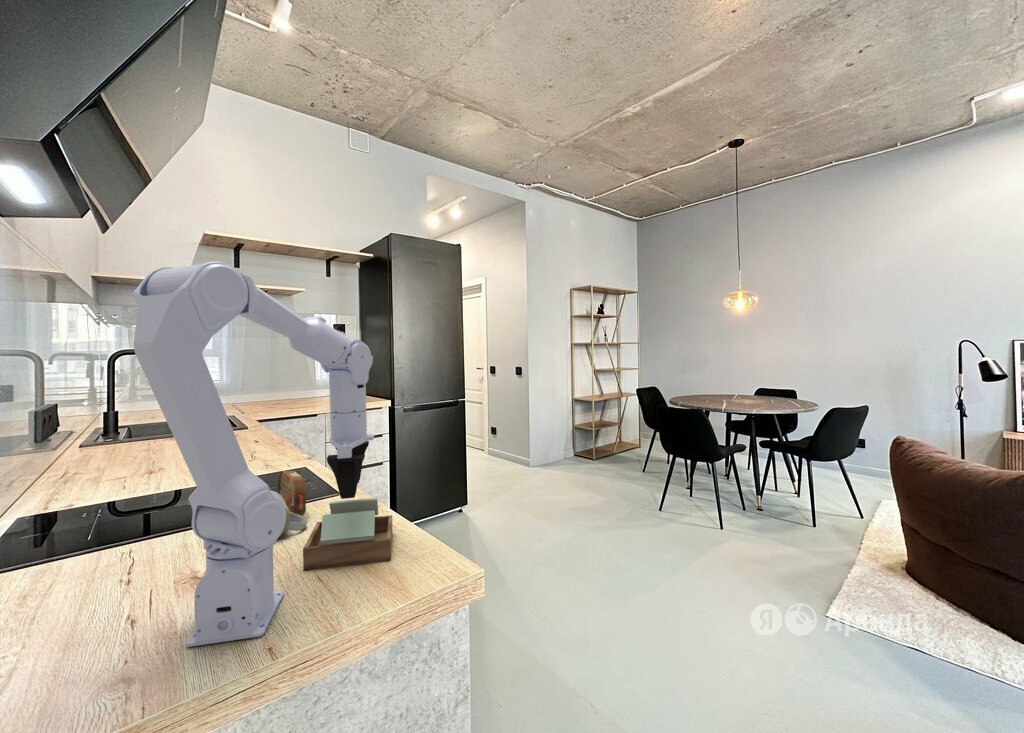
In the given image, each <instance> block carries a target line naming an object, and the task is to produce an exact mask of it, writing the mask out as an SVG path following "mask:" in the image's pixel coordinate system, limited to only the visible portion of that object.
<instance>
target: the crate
mask: <svg viewBox="0 0 1024 733" xmlns="http://www.w3.org/2000/svg"><path fill="white" fill-rule="evenodd" d="M321 528H322V521H317V522H316V523H315V525H314V528H313V529H312V532H311V533H310V535H309V536H308V539H307V540H306V543H305V545H304V546H303V548H302V559H303V563H302V564H303V566H302V569H303V572H305V571H314V570H320V569H322V570H323V569H328V568H329V569H330V568H331V569H332V568H339V567H347V566H355V565H356V566H357V565H364V564H372V563H373V564H374V563H381V562H391V558H392V548H391V547H392V545H393V515H381V516H375V527H374V540H365V541H355V542H346V543H336V544H326V545H320V542H321V541H320V539H321Z"/></svg>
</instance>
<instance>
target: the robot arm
mask: <svg viewBox="0 0 1024 733" xmlns="http://www.w3.org/2000/svg"><path fill="white" fill-rule="evenodd" d="M132 295H133V298H134V300H135V302H136V305H137V306H138V308H137V315H136V322H135V331H134V337H133V338H134V340H133V350H134V354H135V356H136V358H137V360H138V363H139V365H140V367H141V369H142V371H143V374H144V375H145V378H146V380H147V382H148V385H149V387H150V388H151V390H152V394H153V395H154V397H155V399H156V402H157V404H158V405H159V408H160V410H161V413H162V414H163V417H164V419H165V422H166V423H167V425H168V427H169V430H170V432H171V434H172V436H173V438H174V441H175V442H176V444H177V447H178V450H179V451H180V453H181V455H182V457H183V460H184V462H185V465H186V466H187V469H188V470H189V472H190V475H191V476H192V479H193V481H194V484H195V485H196V488H195V490H193V492H192V493H191V494H190V495H189V497H188V502H189V504H190V506H191V511H192V516H191V527H192V528H191V529H192V531H193V533H194V534H195V536H196V537H198V538H199V539H201V540H203V549H204V550H205V567H206V568H205V570H204V572H203V573H204V574H203V575H202V578H200V580H199V581H198V584H197V585H196V588H195V590H194V628H195V629H194V632H193V633H192V634H191V635H190V637H189V638H188V639H187V640H186V642H185V646H186V647H196V646H197V647H198V646H203V645H211V644H217V643H222V642H223V643H224V642H231V641H237V640H238V641H239V640H245V639H250V638H251V639H253V638H259V637H261V636H263V635H264V634H265V633H266V631H267V628H268V626H269V625H270V622H271V621H272V619H273V617H274V615H275V613H276V611H277V609H278V606H279V604H280V603H281V600H282V599H283V597H284V595H285V592H284V590H277V591H274V590H275V589H274V587H275V586H274V584H275V582H274V546H275V545H276V544H277V540H278V539H279V536H280V534H281V533H282V531H283V528H284V526H285V522H286V509H285V506H284V504H283V503H282V502H281V501H280V500H279V499H277V498H275V497H274V496H273V494H272V493H271V491H272V490H271V489H270V486H269V485H268V484H267V483H266V482H265V481H264V480H263V479H261V478H260V477H259V476H257V475H256V474H255V473H253V472H252V471H251V470H250V468H249V466H248V464H247V461H246V459H245V457H244V454H243V451H242V449H241V446H240V444H239V442H238V439H237V437H236V434H235V432H234V429H233V427H232V424H231V422H230V420H229V417H228V414H227V412H226V410H225V407H224V404H223V402H222V399H221V398H220V395H219V392H218V390H217V388H216V385H215V382H214V379H213V377H212V375H211V372H210V370H209V368H208V365H207V363H206V359H205V358H204V355H203V352H204V350H205V349H206V347H207V346H208V343H209V342H210V341H211V340H212V338H213V337H214V336H215V335H216V334H217V333H218V332H220V331H221V330H222V329H224V328H225V326H227V325H228V324H229V323H230V322H232V321H233V320H234V319H235V318H237V317H238V316H239V317H242V318H245V319H247V320H249V321H251V322H253V323H256V324H258V325H260V326H262V327H264V328H266V329H268V330H271V331H273V332H276V333H277V334H279V335H282V336H284V337H286V338H288V339H289V345H290V346H291V348H292V350H294V351H296V352H298V353H300V354H302V355H304V356H306V357H308V358H310V359H312V360H314V361H316V362H318V363H319V364H320V366H321V368H322V370H323V371H324V372H325V373H328V379H329V381H328V384H329V386H328V387H329V389H328V390H329V413H330V414H329V415H330V416H329V417H330V418H329V419H330V438H329V444H330V445H332V446H333V447H334V449H335V451H336V452H337V453H336V454H330V455H328V456H326V462H327V464H328V466H329V468H330V469H331V470H332V473H333V475H334V478H335V481H336V485H337V489H338V493H339V497H340V499H341V500H345V499H354V498H355V497H356V494H357V489H358V484H359V483H360V480H361V475H362V470H363V469H362V468H363V462H364V461H365V458H366V454H365V453H366V450H367V449H368V447H369V444H370V441H374V440H375V434H373V433H371V434H368V433H367V431H368V430H367V428H368V425H367V424H368V422H367V420H368V419H367V390H366V389H367V387H366V386H367V385H366V384H367V383H368V381H369V374H370V369H371V367H372V365H373V360H374V356H373V355H372V352H371V350H370V347H369V346H368V345H367V344H366V343H365V342H364V341H362V340H360V339H350V338H349V337H348V336H347V334H346V333H345V332H343V331H339V330H337V329H335V328H333V327H332V326H330V325H329V324H327V323H326V322H327V319H326V318H324V317H322V316H306V317H302V316H300V315H298V314H297V313H295V312H294V311H293V310H291V309H290V308H289V307H287V306H286V305H284V304H283V303H281V302H280V301H279V300H277V299H275V298H274V297H273V296H271V295H270V294H268V293H266V291H264V290H262V289H261V288H259V287H258V286H257V285H256V283H255V281H254V280H253V277H251V276H249V275H248V274H246V273H243V272H240V271H238V270H237V268H235V267H233V266H232V265H230V264H228V263H225V262H221V261H216V260H215V261H207V262H205V263H201V264H194V265H184V266H177V267H172V266H171V267H159V268H156V269H153V270H152V271H151V272H149V273H148V274H147V275H146V276H145V277H144V278H143V279H142V281H141V282H140V284H139V285H138V286H137V287H136V288H135V289H134V291H133V292H132ZM270 490H271V491H270ZM280 537H281V536H280Z"/></svg>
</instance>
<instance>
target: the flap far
mask: <svg viewBox="0 0 1024 733" xmlns="http://www.w3.org/2000/svg"><path fill="white" fill-rule="evenodd" d="M374 510H375V516H378V515H379V503H378V497H373V498H359V499H348V500H336V501H334V500H333V501H329V511H330V514H339V513H351V512H362V511H374Z"/></svg>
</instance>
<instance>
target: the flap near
mask: <svg viewBox="0 0 1024 733" xmlns="http://www.w3.org/2000/svg"><path fill="white" fill-rule="evenodd" d="M375 517H376V515H375V510H374V511H362V512H351V513H339V514H331V513H329V514H322V517H321V518H322V519H321V522H322V528H321V539H320V541H321V542H320V545H326V544H336V543H346V542H355V541H365V540H374V527H375Z"/></svg>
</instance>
